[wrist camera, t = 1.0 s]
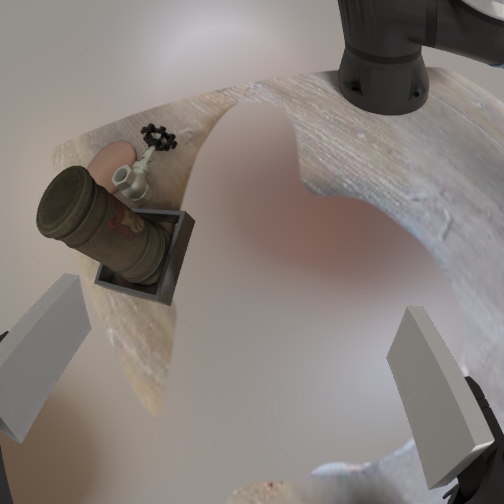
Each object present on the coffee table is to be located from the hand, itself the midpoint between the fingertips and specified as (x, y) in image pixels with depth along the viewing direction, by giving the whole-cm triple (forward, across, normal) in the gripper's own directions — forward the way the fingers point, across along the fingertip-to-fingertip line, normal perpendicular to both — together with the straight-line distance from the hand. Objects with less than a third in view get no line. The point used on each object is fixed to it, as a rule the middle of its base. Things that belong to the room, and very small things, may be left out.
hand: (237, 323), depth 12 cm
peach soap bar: (+45, -28, -4) cm, 53 cm away
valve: (+40, -17, -4) cm, 44 cm away
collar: (+30, -15, -13) cm, 36 cm away
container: (+30, -15, -13) cm, 36 cm away
